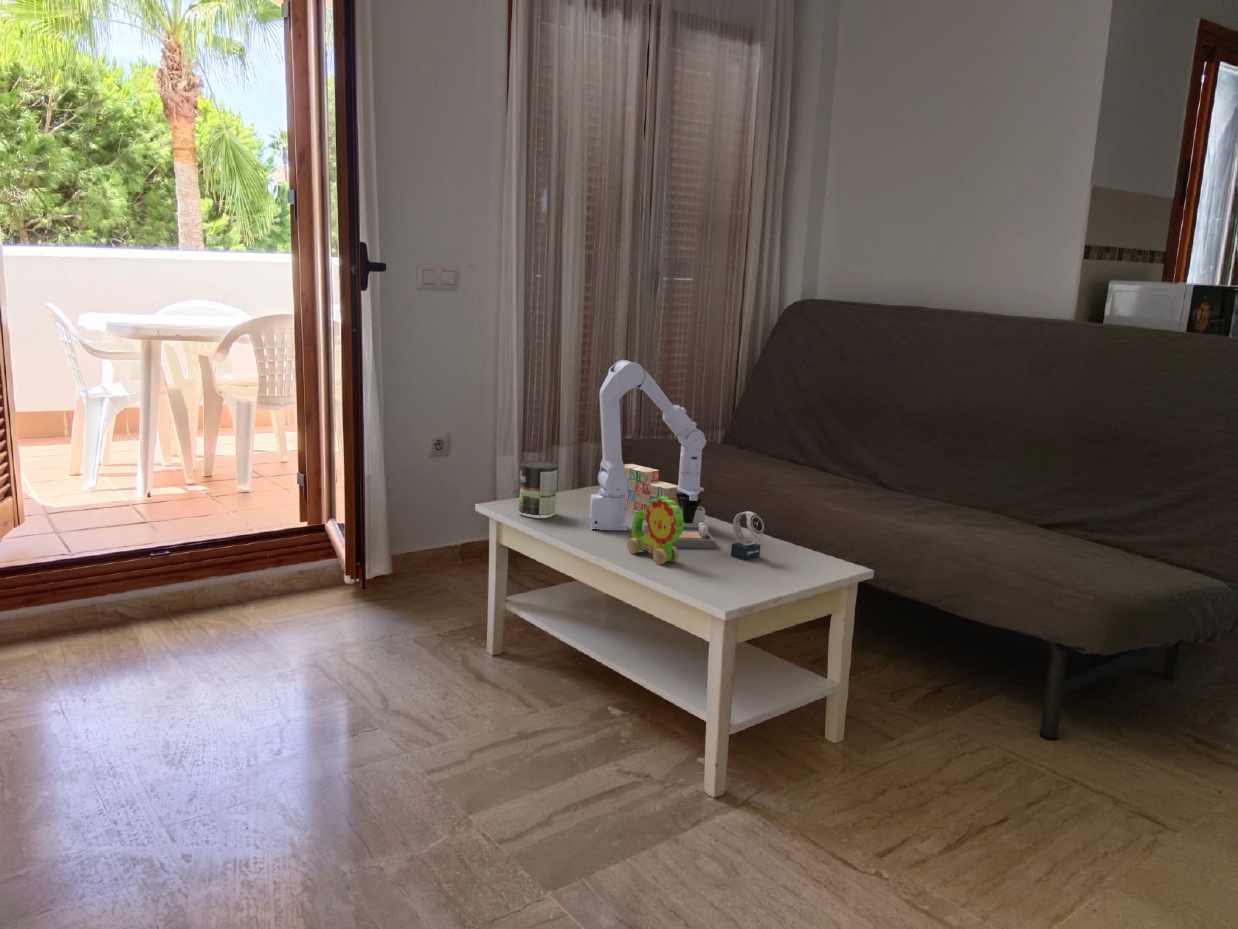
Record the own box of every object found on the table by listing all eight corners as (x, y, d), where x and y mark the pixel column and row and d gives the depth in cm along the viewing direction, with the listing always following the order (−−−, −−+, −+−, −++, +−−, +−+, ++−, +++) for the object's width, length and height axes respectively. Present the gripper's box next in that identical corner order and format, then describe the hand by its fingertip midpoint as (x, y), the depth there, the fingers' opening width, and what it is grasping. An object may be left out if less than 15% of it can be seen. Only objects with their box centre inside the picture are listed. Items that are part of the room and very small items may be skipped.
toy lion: (625, 552, 220) (628, 490, 217) (642, 549, 224) (646, 488, 221) (668, 569, 208) (672, 503, 205) (686, 565, 211) (690, 501, 209)
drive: (671, 527, 246) (672, 508, 245) (668, 524, 250) (669, 505, 249) (703, 528, 247) (705, 509, 246) (700, 524, 251) (702, 506, 250)
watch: (750, 562, 217) (754, 517, 215) (725, 554, 222) (728, 510, 221) (766, 559, 220) (769, 514, 218) (740, 551, 226) (744, 507, 224)
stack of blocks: (679, 518, 257) (682, 475, 255) (663, 521, 253) (665, 477, 251) (629, 503, 273) (631, 462, 271) (613, 505, 269) (615, 464, 267)
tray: (651, 547, 225) (652, 530, 225) (643, 532, 239) (644, 517, 238) (714, 548, 227) (716, 531, 227) (703, 533, 241) (704, 518, 240)
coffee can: (519, 518, 247) (521, 467, 245) (517, 509, 257) (518, 460, 255) (557, 518, 249) (559, 467, 247) (553, 510, 259) (555, 461, 257)
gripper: (710, 477, 239) (706, 528, 242) (698, 467, 253) (695, 515, 256) (683, 476, 238) (680, 527, 241) (673, 466, 253) (670, 514, 255)
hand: (686, 521), depth 248 cm, fingers closed on drive, 4 cm apart
